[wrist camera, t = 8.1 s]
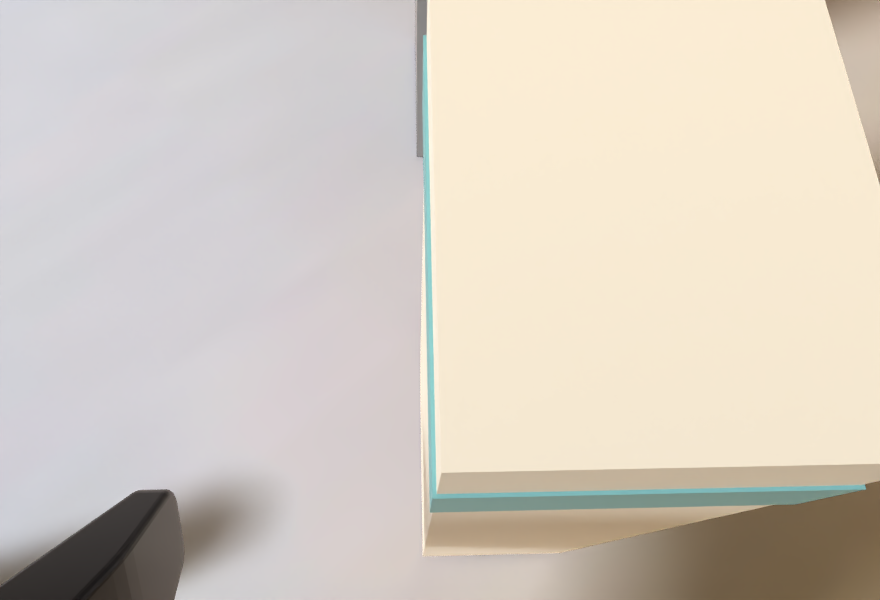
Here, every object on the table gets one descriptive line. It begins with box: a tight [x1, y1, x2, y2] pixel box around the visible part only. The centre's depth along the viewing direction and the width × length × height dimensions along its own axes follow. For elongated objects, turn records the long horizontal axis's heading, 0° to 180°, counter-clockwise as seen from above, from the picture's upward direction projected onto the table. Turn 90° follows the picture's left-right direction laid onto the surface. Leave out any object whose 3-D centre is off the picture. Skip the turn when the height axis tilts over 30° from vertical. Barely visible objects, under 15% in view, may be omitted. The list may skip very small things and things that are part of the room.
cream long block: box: [420, 0, 880, 556], centre depth 10 cm, size 4×3×12 cm
